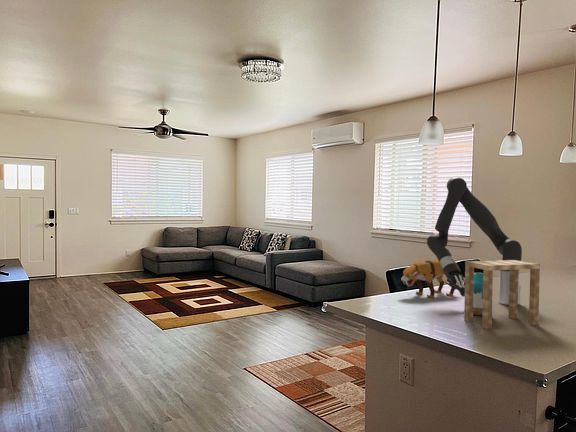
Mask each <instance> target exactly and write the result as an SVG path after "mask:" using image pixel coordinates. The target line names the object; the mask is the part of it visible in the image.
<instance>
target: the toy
mask: <svg viewBox="0 0 576 432" xmlns="http://www.w3.org/2000/svg"><path fill="white" fill-rule="evenodd" d="M458 267H459V268H460V265H458ZM402 274H403V275H402V277H401V278H400V279H401V281H402V283H403V284H404V285H406V286H407V287H413V285H414V284H415V282H416V285H417V286H418V291H416V292H415V295H419V296H420V295H423V294H424V286H423V283H422V281H425V283H426V284H427V286H428V290H429V292H430V293H429V294H427V295H426V297H427V298H429V299H434V298H435V294H441V293H442V290H443V288H444V286H445V285H444V284H445V280H444V279H443V276H444V275H445V273H444V271H443V269H442V267H441V265H440V262H439V260H438V259H430V260H429V259H428V260H425V261H424V260H423V261H416V262H414V263H413V264H411V265H410V266H408V267H406V268H405V269H404V270H403V272H402ZM433 280H437V282H438V283H439V285H438V288H437V290H436V289H435V287H434V282H433ZM453 286H454V285H453ZM454 287H455V286H454ZM455 291H456V290H455V289H453V288H452V287H450V291H449V292H446V293H445V295H446V296H448V297H453V296H454V293H455Z"/></svg>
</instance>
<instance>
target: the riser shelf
mask: <svg viewBox="0 0 576 432" xmlns="http://www.w3.org/2000/svg"><path fill="white" fill-rule="evenodd" d="M464 265H465V267H464V278H465V297H464V306H463V307H464V308H463V309H464V311H463V312H464V313H463V314H464V315H463V319H464V321H465V322H467V323H469V322H474V314H473V291H474V273H475V269H479V270H483V315H482V321H481V322H482V323H481V324H482V329H486V330H491V329H493V327H492V326H493V325H492V324H493V289H494V287H493V286H494V285H493V284H494V279H493V278H494V277H493V276H494V271H499V270H510V283H509V305H508V318H510V319H515V320H516V319H518V312H519V310H518V309H519V304H518V276H519V277H520V270H529V297H528V299H529V300H528V302H529V305H528V325H531V326H539V322H540V321H539V319H540V317H539V315H540V312H539V311H540V310H539V309H540V279H541V278H540V276H541V275H540V273H541V272H540V271H541V270H540V269H541V268H540V267H541V264H540V263H536V262H529V261H523V260H521V261H518V260H501V259H500V260H496V259H495V260H466V261H465V264H464Z"/></svg>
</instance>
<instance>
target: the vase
mask: <svg viewBox="0 0 576 432" xmlns="http://www.w3.org/2000/svg"><path fill="white" fill-rule="evenodd" d="M473 315H475V316H483V273H482V272H474V291H473Z"/></svg>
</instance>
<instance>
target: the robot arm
mask: <svg viewBox="0 0 576 432" xmlns="http://www.w3.org/2000/svg"><path fill="white" fill-rule="evenodd" d="M446 190H447V195H446V199H445V202H444V204H443V207H442V209H440V213H439V215H438V218H437V220H436V223H435V226H434V230H435V231H436V232H438V235H435V234H430V235H429V236H428V237H427V239H426V245H427V246H428V247H427V248H429V250H430V251H431V252H432V253H433V254H434V255H435V257H436V258H437V259H436V260H439V262H440V265H441V267H442V269H443V271H444V273H445V274H444V275H445V277H446V280H444V284H446V285H448V286H449V287H450V288H451V287H452V288H453V289H455V290H454V291H456V290H457V291H458V292H459V294H460V296H461V297H464V298H465V276H464V275H463V274H462V273H461V269H460V266H459V265H458V263H457V262H456V260H455V258H454V257H453V256H452V253H451V252H450V250H449V249H448V248H447V245H448V242H449V241H448V240H449V229H450V228H451V224H452V221H453V219H454V216H455V213H456V210H457V207H458V205H459V203H460V204H461V205H462V207H463V208H464V210H465V211H466V213H467V214H468V216H470V218H471V220H473V222H474V223H475V224H476V226H477V227H478V228H479V229H480V230H481V231H482V232H483V233H484V235H486V236H487V237H488V238H489V240H490V241H491V243H492V244H493V246H494V247H495V248H496V250H497V251H498V252H499V254H500V255H501V256H502V260H518V261H522V256H523V255H522V254H523V252H522V251H523V249H522V245H521V244H520V242H519V241H517V240H514V239H511V238H509V237H508V236H507V235H506V234H505V233H504V231H502V229H501V228H500V225H499V224H498V221H497V218H496V217H495V216H494V215H493V213H492V212H491V211H490V209H489V208H488V207H487V206H486V205H485V204H484V203H483V202H481V200H480V199H478V198H477V197H476V196H475V195H474V194H473V193H472V192H471V191H470V189H469V187H468V184H467V181H466V180H465V179H464V178H461V177H458V176H453V177H451V178H450V179H448V181H447V182H446ZM458 266H459V267H458ZM498 277H499V278H498V303H499V304H502V305H508V306H509V283H510V270H498ZM453 285H454V286H455V287H454V286H453ZM521 288H522V287H521V285H520V275H519V276H518V305H521V290H522V289H521Z"/></svg>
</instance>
